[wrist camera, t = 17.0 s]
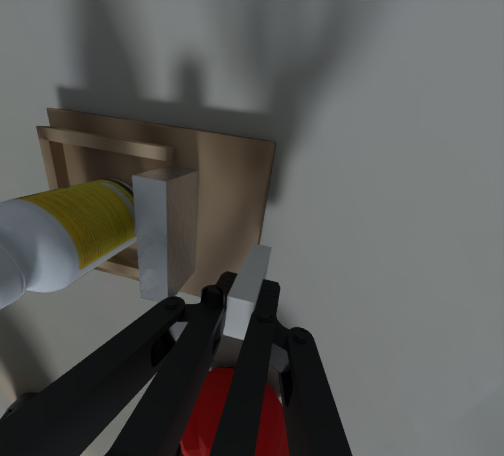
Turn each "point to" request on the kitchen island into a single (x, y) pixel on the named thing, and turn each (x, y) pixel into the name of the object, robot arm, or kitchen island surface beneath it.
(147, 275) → the jaw
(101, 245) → the pill bottle
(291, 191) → the kitchen island surface
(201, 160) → the board
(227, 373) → the tomato
